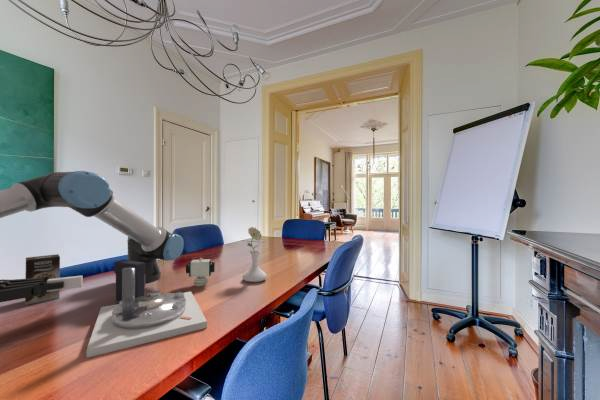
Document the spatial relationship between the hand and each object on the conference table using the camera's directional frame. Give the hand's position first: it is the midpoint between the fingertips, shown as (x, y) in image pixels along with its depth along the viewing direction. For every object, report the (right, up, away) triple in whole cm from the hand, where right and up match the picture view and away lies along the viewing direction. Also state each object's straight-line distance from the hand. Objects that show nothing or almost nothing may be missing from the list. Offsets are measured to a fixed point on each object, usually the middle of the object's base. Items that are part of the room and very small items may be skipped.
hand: (81, 281), depth 66 cm
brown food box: (-40, -16, +30) cm, 53 cm away
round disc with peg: (+9, -15, +15) cm, 23 cm away
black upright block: (-6, -17, +28) cm, 33 cm away
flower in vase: (+35, -17, +55) cm, 68 cm away
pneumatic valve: (+13, -17, +47) cm, 52 cm away
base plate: (+9, -17, +15) cm, 24 cm away
